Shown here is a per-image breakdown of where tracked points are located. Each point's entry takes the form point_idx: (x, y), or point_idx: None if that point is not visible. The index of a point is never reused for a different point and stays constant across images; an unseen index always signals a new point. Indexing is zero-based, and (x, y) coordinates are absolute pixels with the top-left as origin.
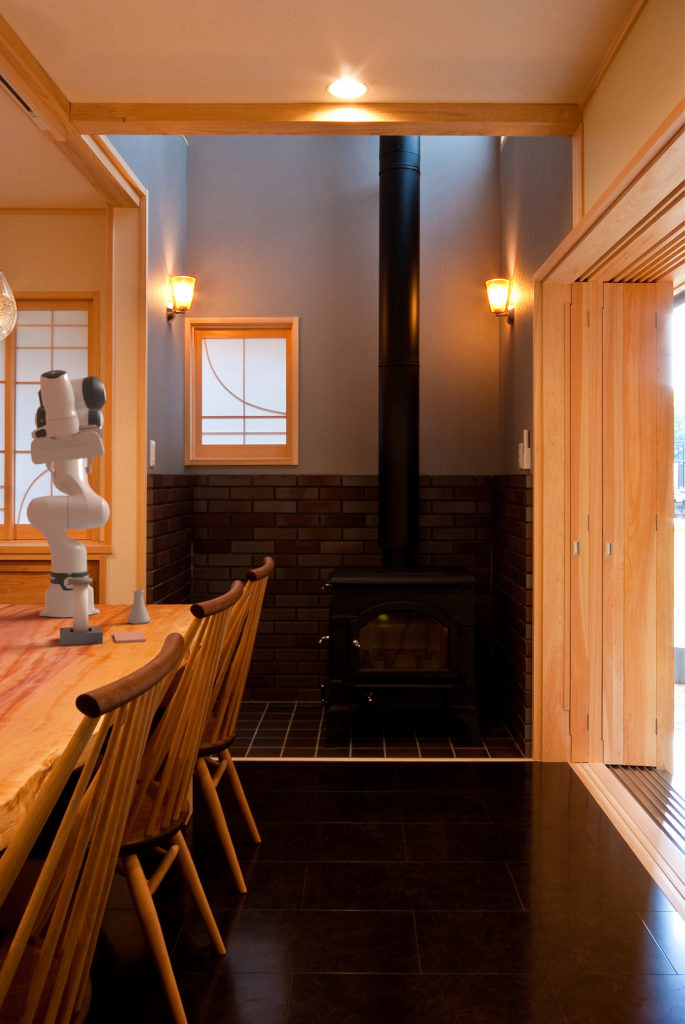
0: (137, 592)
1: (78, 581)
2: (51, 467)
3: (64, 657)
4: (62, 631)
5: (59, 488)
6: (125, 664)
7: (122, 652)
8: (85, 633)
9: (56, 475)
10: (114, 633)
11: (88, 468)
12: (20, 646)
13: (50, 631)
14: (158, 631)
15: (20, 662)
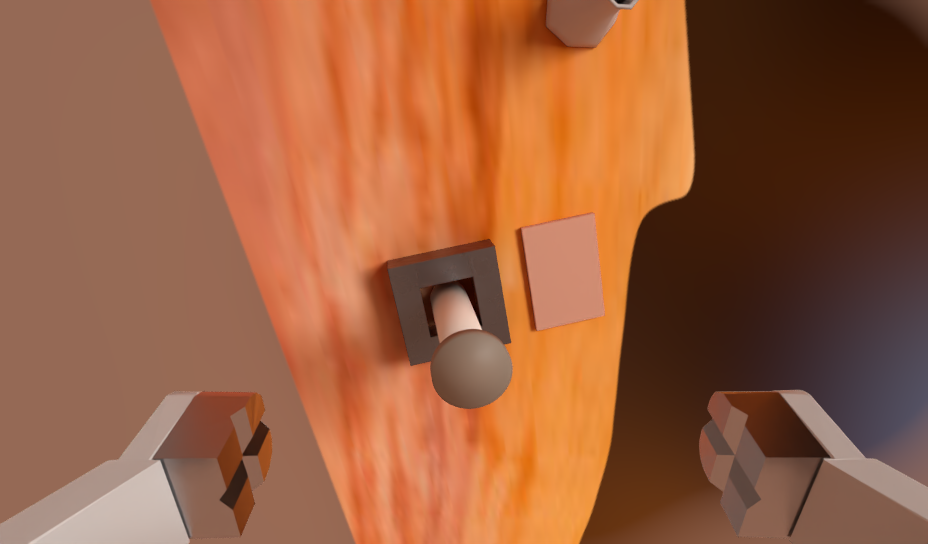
0: (619, 8)
1: (471, 405)
2: (68, 540)
3: (444, 466)
4: (407, 324)
5: None
6: (566, 522)
7: (555, 426)
8: None
9: (250, 482)
10: (525, 234)
11: (786, 519)
12: (313, 354)
13: (333, 146)
14: (634, 181)
15: (365, 505)
